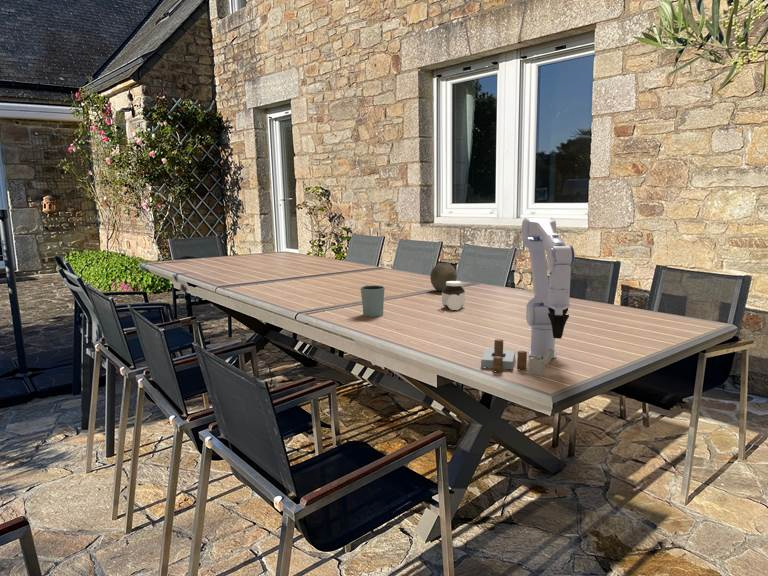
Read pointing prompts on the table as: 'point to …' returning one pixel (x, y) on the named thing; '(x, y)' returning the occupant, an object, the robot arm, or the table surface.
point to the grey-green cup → (372, 300)
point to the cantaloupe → (442, 275)
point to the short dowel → (497, 363)
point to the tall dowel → (498, 347)
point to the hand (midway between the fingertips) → (557, 335)
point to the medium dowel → (522, 360)
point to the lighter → (540, 363)
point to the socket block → (507, 359)
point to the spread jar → (453, 295)
